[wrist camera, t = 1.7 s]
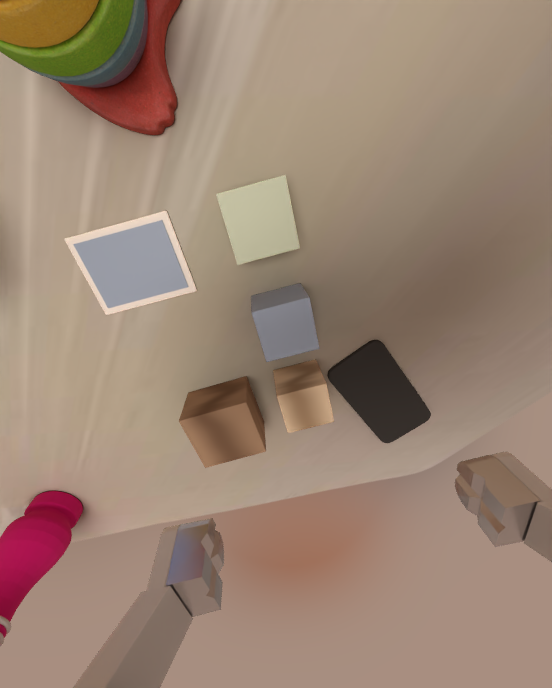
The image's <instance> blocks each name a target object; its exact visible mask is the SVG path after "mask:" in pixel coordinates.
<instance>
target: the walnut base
mask: <svg viewBox="0 0 552 688" xmlns="http://www.w3.org/2000/svg"><path fill="white" fill-rule="evenodd" d="M179 422H180V424H181V426H182V427H183V429H184V431H185V433H186V434H187V436H188V438H189V440H190V442H191V443H192V445H193V447H194V449H195V450H196V452H197V454H198V456H199V457H200V459H201V461H202V463H203V464H204V466H205V468H206V467H210V466H214V465H217V464H221V463H225V462H229V461H232V460H236V459H240V458H243V457H247V456H251V455H254V454H258V453H262V452H265V451H266V444H265V429H264V420H263V418H262V415H261V412H260V410H259V407H258V405H257V402H256V399H255V397H254V394H253V392H252V389H251V386H250V384H249V381H248V379H247V376H245V377H242V378H238V379H235V380H231V381H228V382H224V383H221V384H217V385H213V386H210V387H206V388H203V389H199V390H196V391H192V392H189V393H188V395H187V398H186V401H185V404H184V407H183V410H182V413H181V416H180V419H179Z"/></svg>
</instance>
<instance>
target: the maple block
mask: <svg viewBox="0 0 552 688" xmlns="http://www.w3.org/2000/svg"><path fill="white" fill-rule="evenodd" d="M273 373H274V380H275V387H276V394H277V398H278V402H279V405H280V408H281V412H282V415H283V418H284V421H285V425H286V428H287V431H288V433H291V432H295V431H299V430H303V429H307V428H311V427H315V426H319V425H323V424H327V423H331V422H334V419H333V414H332V409H331V404H330V399H329V394H328V389H327V384H326V382H325V379H324V377H323V375H322V372H321V370H320V368H319V366H318V363H317V361H316V359H315V360H311V361H307V362H303V363H299V364H296V365H292V366H288V367H284V368H280V369H276V370H273Z"/></svg>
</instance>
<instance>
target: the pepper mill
mask: <svg viewBox="0 0 552 688" xmlns="http://www.w3.org/2000/svg"><path fill="white" fill-rule="evenodd" d="M82 512H83V507H82V504H81V502H80V501H79V500H78V499H77V498H76V497H74V496H72V495H70V494H68V493H65V492H60V491H48V492H43V493H41V494H39V495H37V496H36V497H35V498H34V499H33V500H32V502H31V503H30V504H29V506H28V507H27V508H26V510H25V513H24V515H25V516H22V517H20V518H18V519H16V520H15V521H13V522H12V523H11V524H10V525H9V526H8V527H7V528H6V530H5V531H4V533H3V534H2V536H1V537H0V646H1V645H2V644H3V642H4V637H5V636H6V634H8V633H9V631H10V630H11V623H10V621H11V619H12V617H13V615H14V613H15V611H16V609H17V608H18V606H19V605H20V603H21V602H22V600H23V599H24V597H25V596H26V595H27V593H28V592H29V591H30V590H31V588H32V587H33V586H34V585H35V584H36V583H37V582H38V581H39V580H40V579H41V578H42V577H43V576H44V575H45V574H46V573H47V572H48V571H49V570H50V569H51V568H52V567H53V566H54V565H55V564H56V562H57V561H58V560H59V559H60V558H61V556H62V555H63V554H64V552H65V551H66V549H67V547H68V545H69V544H70V541H71V536H72V534H71V528H73V527H74V526H75V525H76V523H77V521H78V519H79V518H80V516H81V514H82Z"/></svg>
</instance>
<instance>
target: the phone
mask: <svg viewBox="0 0 552 688" xmlns="http://www.w3.org/2000/svg"><path fill="white" fill-rule="evenodd" d="M328 378H329V380H330V382H331V383H332V384H333V385H334V386H335V388H336V389H337V390H338V391H339V392H340V393H341V395H342V396H343V397H344V398H345V399H346V400H347V402H348V403H349V404H350V405H351V406H352V407H353V409H354V410H355V411H356V412H357V413H358V414H359V416H360V417H361V418H362V419H363V420H364V422H365V423H366V424H367V425H368V426H369V427H370V429H371V430H372V431H373V432H374V433H375V434H376V435H377V437H378V438H379V439H380V440H381V441H382V442H384V443H390V442H393V441H394V440H396V439H398V438H399V437H401V436H403V435H405V434H406V433H408V432H410V431H411V430H413V429H415V428H416V427H418V426H420V425H421V424H423V423H425V422H426V421H427V420H428V419H429V418H430V416H431V413H430V411H429V410H428V408H427V407H426V405H425V403H424V402H423V401H422V399H421V397H420V396H419V394H417V391H416V390H415V389H414V387H413V386H412V385H411V383H410V382H409V380H408V379H407V378H406V376H405V375H404V373H403V372H402V370H401V369H400V367H399V366H398V364H397V363H396V362H395V360H394V359H393V357H392V356H391V354H390V353H389V351H388V350H387V349H386V347H385V346H384V344H383V343H382V342H380V341H379V340H372V341H370V342H368V343H366V344H365V345H364V346H362V347H361V348H359V349H358V350H356V351H355V352H353V353H352V354H350V355H349V356H348V357H346V358H345V359H343V360H342V361H340V362H339V363H337V364H336V365H335V366H333V367H332V368H331V369H330V370H329V371H328Z"/></svg>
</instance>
